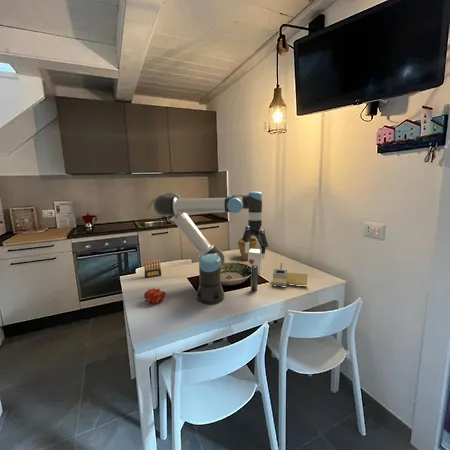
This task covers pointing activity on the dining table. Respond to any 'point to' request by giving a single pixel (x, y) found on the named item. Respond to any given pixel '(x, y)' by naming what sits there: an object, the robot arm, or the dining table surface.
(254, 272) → the hinge pin
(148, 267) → the ammunition clip
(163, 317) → the dining table surface
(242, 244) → the plant pot
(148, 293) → the dragon fruit
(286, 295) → the dining table surface
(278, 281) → the hinge
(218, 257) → the robot arm
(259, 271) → the supplement box
